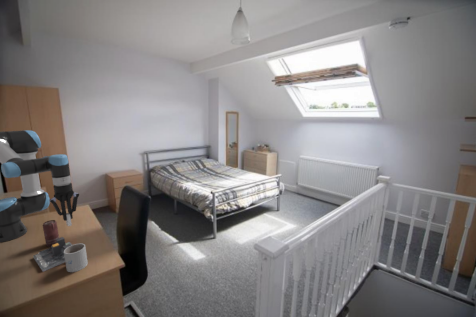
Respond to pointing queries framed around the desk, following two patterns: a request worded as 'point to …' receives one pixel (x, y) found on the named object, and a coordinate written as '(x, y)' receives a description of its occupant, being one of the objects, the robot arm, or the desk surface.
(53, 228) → the can
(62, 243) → the block
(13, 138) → the robot arm
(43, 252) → the panel
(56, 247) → the block
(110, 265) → the desk surface
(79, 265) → the mug
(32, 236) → the desk surface
